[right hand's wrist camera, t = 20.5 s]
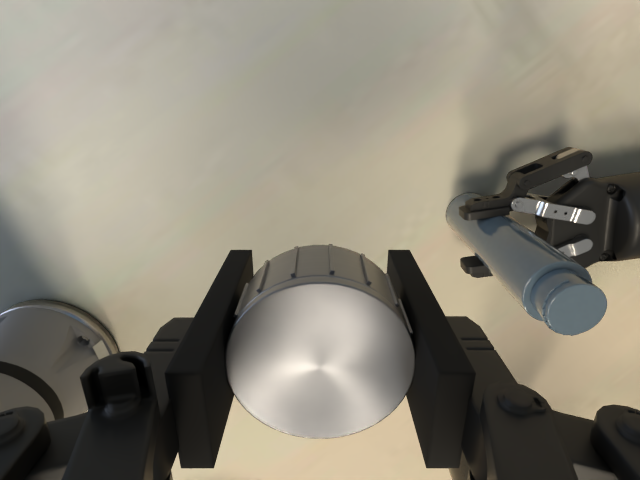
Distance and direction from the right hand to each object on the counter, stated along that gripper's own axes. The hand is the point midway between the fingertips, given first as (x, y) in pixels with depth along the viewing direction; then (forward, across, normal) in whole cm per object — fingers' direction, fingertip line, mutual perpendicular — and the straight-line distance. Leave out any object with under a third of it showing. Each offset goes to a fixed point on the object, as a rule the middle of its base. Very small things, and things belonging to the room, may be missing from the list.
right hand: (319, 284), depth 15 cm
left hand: (+20, +13, -6) cm, 25 cm away
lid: (-4, 0, 0) cm, 4 cm away
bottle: (+27, +16, -6) cm, 32 cm away
